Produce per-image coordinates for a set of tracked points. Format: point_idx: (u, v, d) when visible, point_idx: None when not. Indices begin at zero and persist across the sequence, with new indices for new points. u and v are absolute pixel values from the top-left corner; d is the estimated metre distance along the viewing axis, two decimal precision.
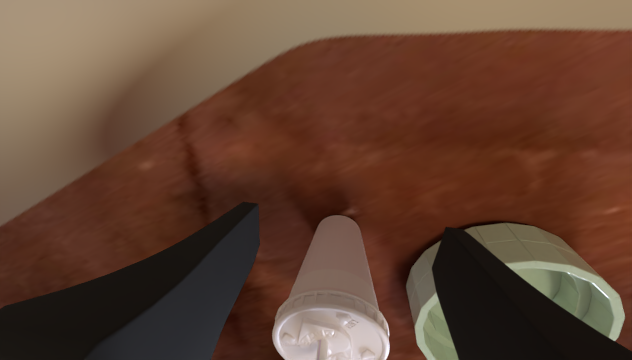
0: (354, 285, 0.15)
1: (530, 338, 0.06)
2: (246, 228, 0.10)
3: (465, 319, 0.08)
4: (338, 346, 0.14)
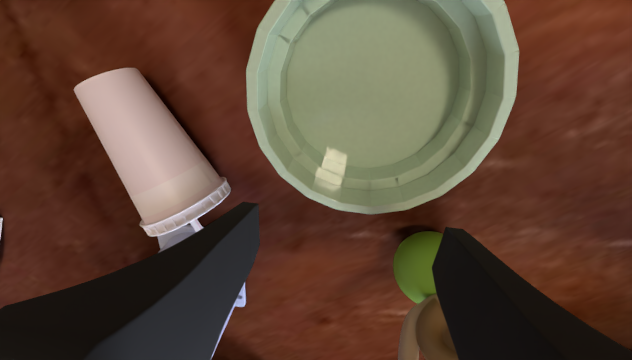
0: (136, 208, 0.18)
1: (529, 338, 0.06)
2: (246, 228, 0.10)
3: (465, 319, 0.08)
4: None
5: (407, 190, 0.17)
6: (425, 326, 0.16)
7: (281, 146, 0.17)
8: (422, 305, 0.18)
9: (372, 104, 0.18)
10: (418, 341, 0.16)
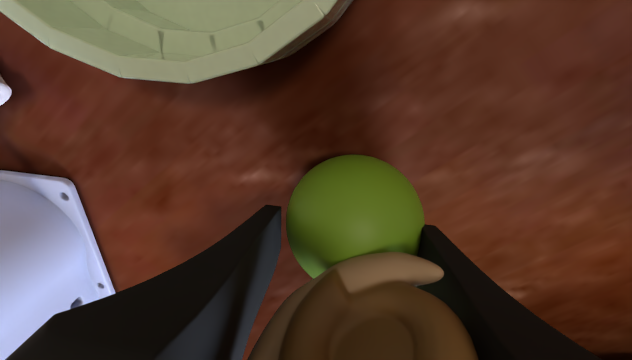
0: None
1: (480, 330, 0.06)
2: (271, 231, 0.10)
3: None
4: None
5: None
6: (297, 330, 0.07)
7: None
8: (311, 285, 0.08)
9: None
10: None
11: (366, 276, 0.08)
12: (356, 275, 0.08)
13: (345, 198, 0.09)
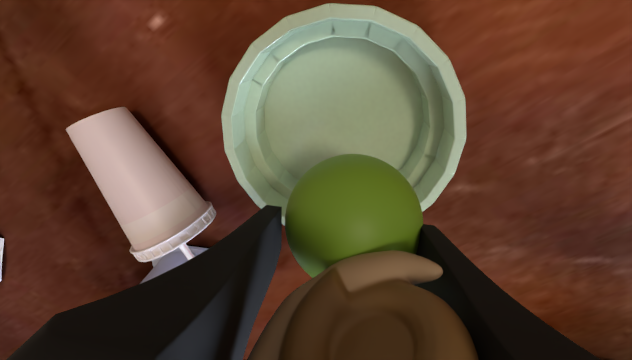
0: None
1: (479, 330, 0.06)
2: (272, 231, 0.10)
3: None
4: None
5: None
6: (297, 329, 0.07)
7: (259, 177, 0.18)
8: (310, 284, 0.08)
9: (344, 136, 0.19)
10: None
11: (365, 275, 0.08)
12: (355, 274, 0.08)
13: (344, 197, 0.09)
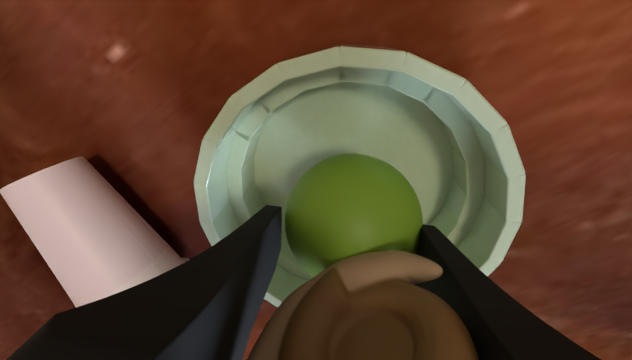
0: None
1: (479, 330, 0.06)
2: (272, 231, 0.10)
3: None
4: None
5: None
6: (297, 329, 0.07)
7: None
8: (310, 284, 0.08)
9: None
10: None
11: (365, 274, 0.08)
12: (355, 274, 0.08)
13: (343, 197, 0.09)
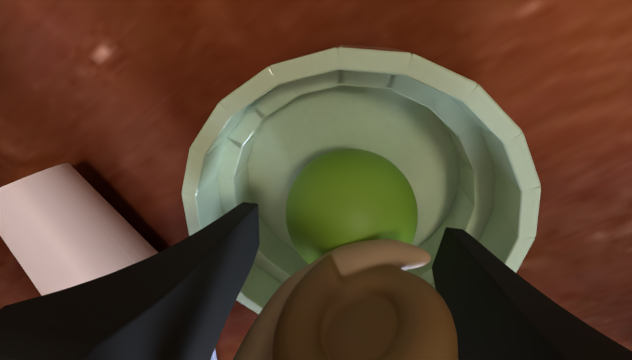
0: None
1: (529, 338, 0.06)
2: (246, 228, 0.10)
3: (465, 319, 0.08)
4: None
5: None
6: (292, 308, 0.08)
7: None
8: (307, 269, 0.09)
9: None
10: (273, 341, 0.07)
11: (358, 260, 0.08)
12: (349, 259, 0.08)
13: (340, 188, 0.09)
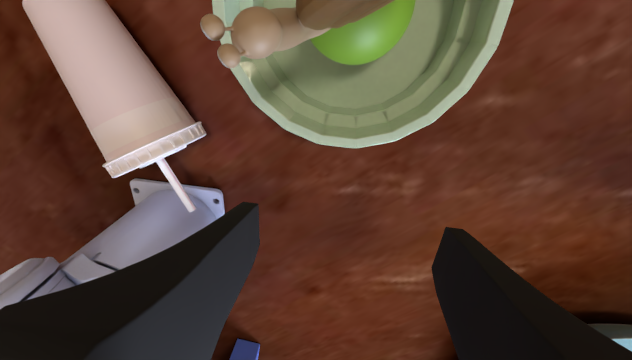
0: None
1: (530, 338, 0.06)
2: (246, 228, 0.10)
3: (465, 319, 0.08)
4: (157, 160, 0.18)
5: (396, 122, 0.15)
6: None
7: (256, 73, 0.15)
8: None
9: None
10: None
11: None
12: None
13: None
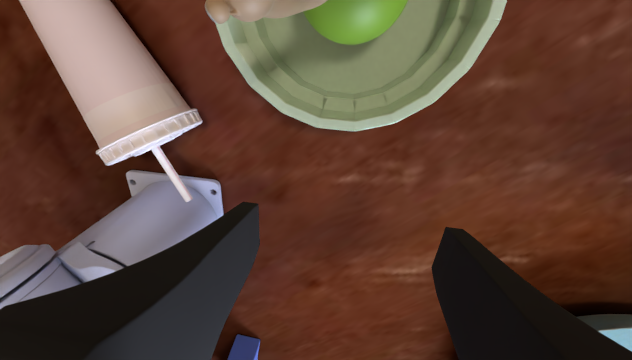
0: (92, 133, 0.16)
1: (529, 338, 0.06)
2: (246, 228, 0.10)
3: (465, 319, 0.08)
4: (152, 148, 0.18)
5: (396, 104, 0.15)
6: None
7: (252, 56, 0.15)
8: None
9: None
10: None
11: None
12: None
13: None
